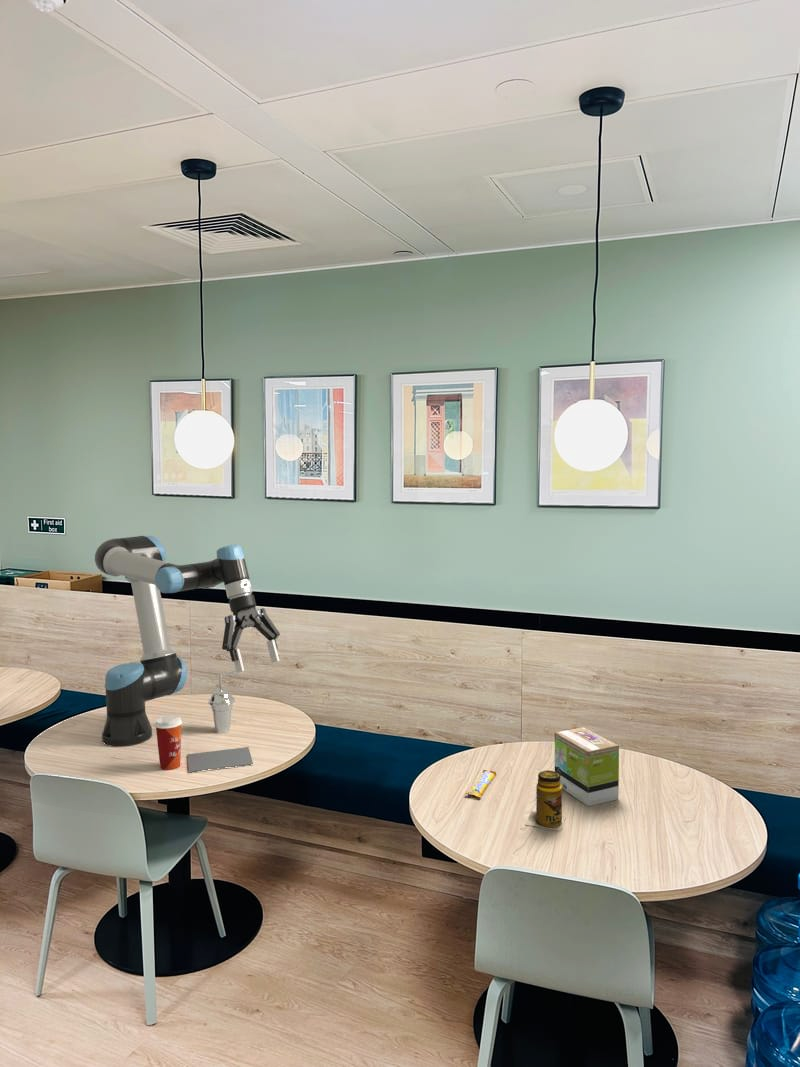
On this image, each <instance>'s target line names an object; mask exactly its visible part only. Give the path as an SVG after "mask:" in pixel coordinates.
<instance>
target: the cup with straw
mask: <svg viewBox="0 0 800 1067" xmlns="http://www.w3.org/2000/svg"><path fill="white" fill-rule="evenodd" d="M232 674H237V672H236V670H232V671H227V672H224V673H220V674H219V677H218V678H219V680H218V681H219V689H217V690H215V691H214V692H213V693H212V694H211V696H210V698H209V699H208V705H209V706H210V707H211V712H212V715H213V717H212V718H213V724H214V729H215V732H216V733H217V732H218V733H217V734H224V733H225V732H226V733H228V732H230V731H231V730H230V727H231V719H232V710H233V704H234V703H235V702H236V701H235V697H233V695H232V693H231V692H230V691H229V690H227V689H226V688H222V687H223V684H222V683H223V680H222V678H223V676H226V675H232ZM229 730H230V731H229ZM226 733H225V734H226Z"/></svg>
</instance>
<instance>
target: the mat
mask: <svg viewBox="0 0 800 1067" xmlns="http://www.w3.org/2000/svg"><path fill="white" fill-rule="evenodd" d="M187 764H188V765H187V766H188V774H193V773H192V772H195V773H198V772H197V771H202V770H208V769H217V768H225V767H234V768H236V767H235V766H242V767H246V766H245V765H250V766H252V765H251V764H253V765H254V762H253V758H252V755H251V752H250V748H249V746H246V747H236V748H229V749H220V750H212V751H203V752H195V753H188V754H187Z"/></svg>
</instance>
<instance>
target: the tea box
mask: <svg viewBox="0 0 800 1067" xmlns="http://www.w3.org/2000/svg"><path fill="white" fill-rule="evenodd" d="M619 763H620V744H617V743H615V742H613V741H611V740H609V739H608V738H605V737H604V736H602V735H600V734H598V733H595V732H594V731H593V730H590V729H588V728H587V727H584V726H582V727H577V728H573V729H568V730H567V729H566V730H561V731H557V732H556V731H555V732H554V771H555V772H557V773H558V774H559V775H560V781H561V783H560V784H561V786H562V790H564V791H565V792H566V793H569V795H571V796H573V797H574V798H575V799H577V800H578V801H580V802H582V804H585V805H586V806H587V807H590V806H591V807H592V806H595V805H599V804H603V803H607V802H612V801H615V800H619V790H620V788H619V781H620V780H619V779H620V778H619V777H620V776H619V774H620V770H619V769H620V764H619Z"/></svg>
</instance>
